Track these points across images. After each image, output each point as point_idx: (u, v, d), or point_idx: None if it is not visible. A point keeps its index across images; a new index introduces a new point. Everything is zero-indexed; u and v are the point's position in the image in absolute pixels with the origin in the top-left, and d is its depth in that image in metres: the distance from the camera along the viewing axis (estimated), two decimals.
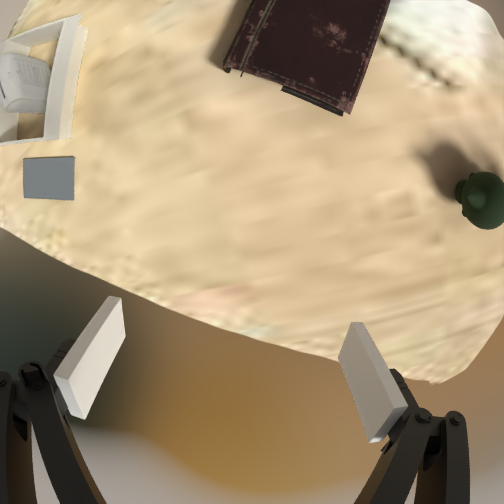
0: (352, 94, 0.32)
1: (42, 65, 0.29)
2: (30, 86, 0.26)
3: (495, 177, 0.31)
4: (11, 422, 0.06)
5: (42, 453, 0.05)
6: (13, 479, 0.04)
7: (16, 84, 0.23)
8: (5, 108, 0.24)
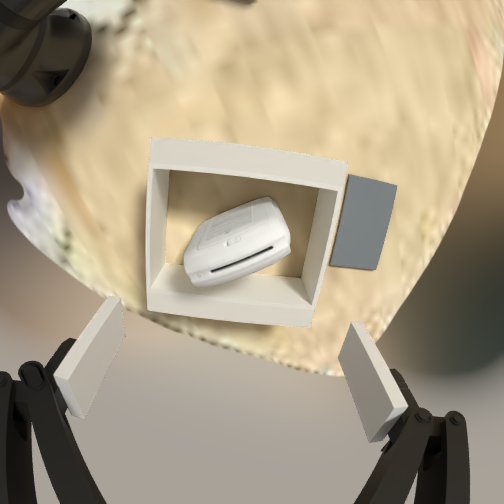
0: None
1: (208, 222, 0.33)
2: (253, 215, 0.27)
3: None
4: (11, 422, 0.06)
5: (42, 453, 0.05)
6: (13, 479, 0.04)
7: (252, 227, 0.24)
8: (289, 248, 0.25)
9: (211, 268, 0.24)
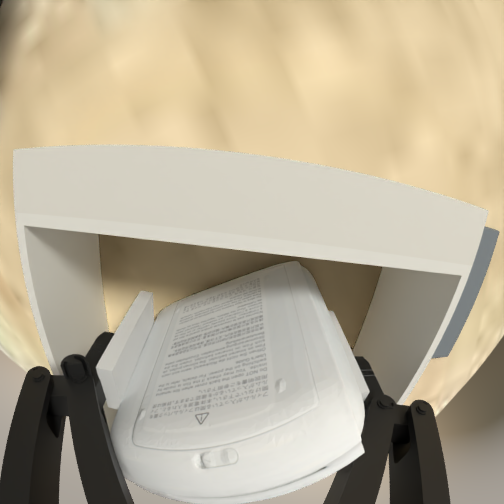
0: None
1: (171, 319, 0.15)
2: (271, 351, 0.10)
3: None
4: (44, 419, 0.07)
5: (75, 445, 0.06)
6: (38, 475, 0.05)
7: (273, 424, 0.07)
8: None
9: (169, 494, 0.07)
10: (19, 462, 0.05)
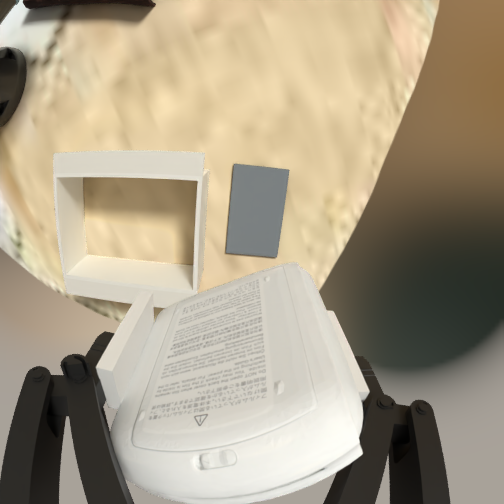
0: None
1: (171, 320, 0.15)
2: (270, 353, 0.10)
3: None
4: (44, 419, 0.07)
5: (75, 445, 0.06)
6: (38, 475, 0.05)
7: (271, 426, 0.07)
8: None
9: (169, 495, 0.07)
10: (20, 463, 0.05)
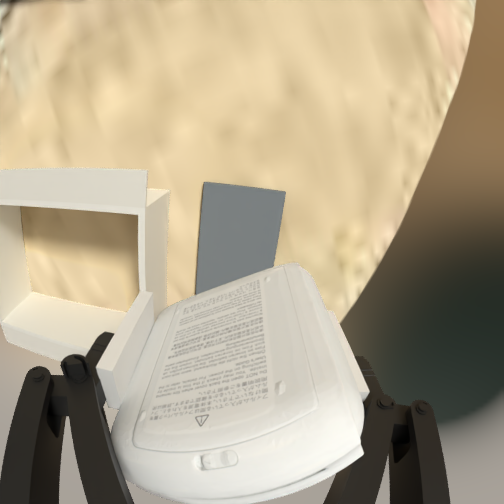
0: None
1: (171, 320, 0.15)
2: (271, 354, 0.10)
3: None
4: (44, 419, 0.07)
5: (75, 445, 0.06)
6: (38, 475, 0.05)
7: (273, 426, 0.07)
8: None
9: (170, 495, 0.07)
10: (20, 463, 0.05)
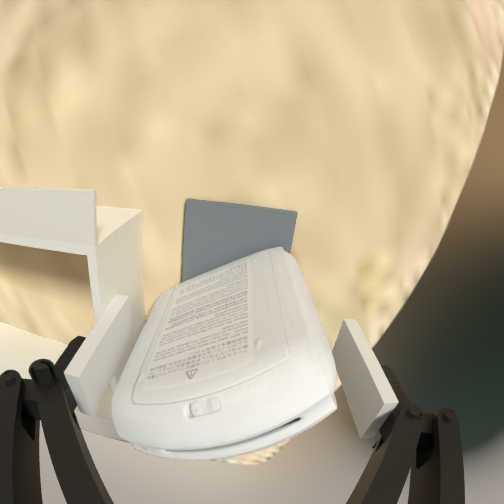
0: None
1: (169, 300, 0.17)
2: (252, 318, 0.12)
3: None
4: (19, 421, 0.06)
5: (50, 451, 0.06)
6: (19, 478, 0.04)
7: (250, 375, 0.09)
8: None
9: (163, 449, 0.09)
10: (0, 466, 0.04)
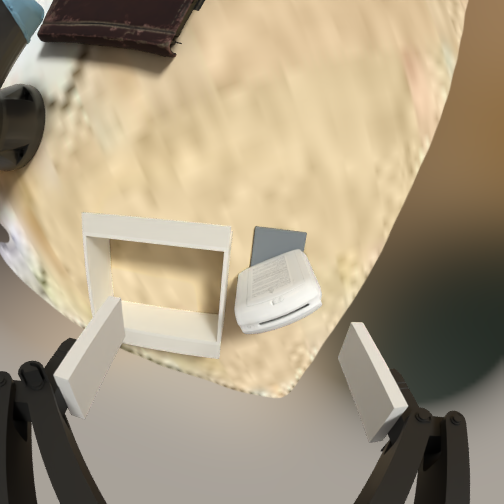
0: None
1: (248, 274, 0.38)
2: (290, 274, 0.33)
3: None
4: (11, 423, 0.06)
5: (42, 453, 0.05)
6: (13, 479, 0.04)
7: (292, 288, 0.30)
8: (321, 303, 0.30)
9: (260, 322, 0.30)
10: None
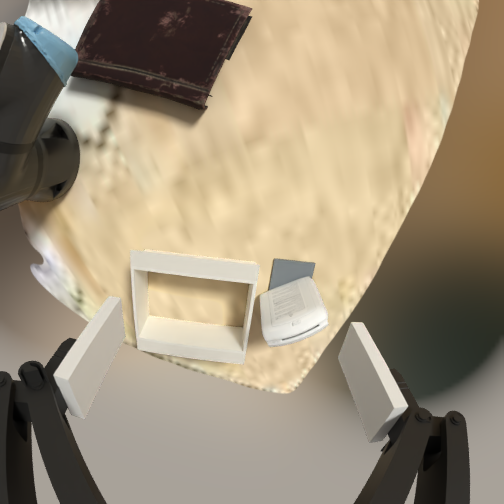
0: (232, 5, 0.30)
1: (268, 297, 0.48)
2: (304, 300, 0.42)
3: None
4: (11, 422, 0.06)
5: (42, 453, 0.05)
6: (13, 479, 0.04)
7: (307, 313, 0.39)
8: (327, 323, 0.40)
9: (282, 338, 0.39)
10: None
